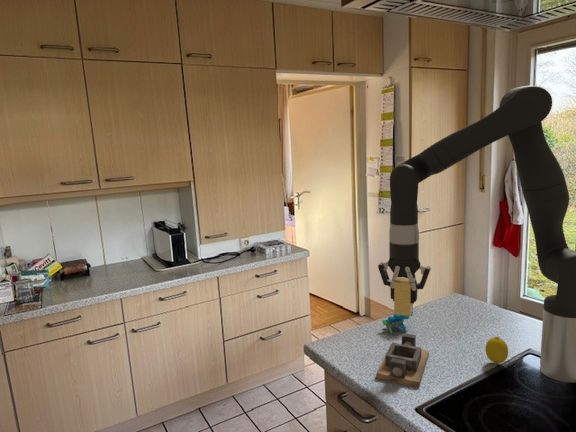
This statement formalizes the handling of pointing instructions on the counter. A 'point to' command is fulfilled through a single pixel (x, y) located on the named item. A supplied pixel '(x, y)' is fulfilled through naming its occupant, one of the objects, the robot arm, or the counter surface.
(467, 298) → the counter surface
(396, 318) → the blue-green animal figure
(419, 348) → the shaft rig
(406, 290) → the block
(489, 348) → the lemon
